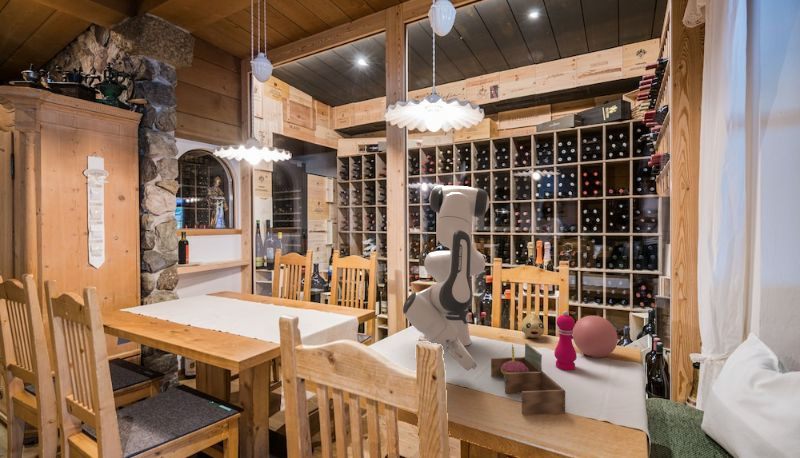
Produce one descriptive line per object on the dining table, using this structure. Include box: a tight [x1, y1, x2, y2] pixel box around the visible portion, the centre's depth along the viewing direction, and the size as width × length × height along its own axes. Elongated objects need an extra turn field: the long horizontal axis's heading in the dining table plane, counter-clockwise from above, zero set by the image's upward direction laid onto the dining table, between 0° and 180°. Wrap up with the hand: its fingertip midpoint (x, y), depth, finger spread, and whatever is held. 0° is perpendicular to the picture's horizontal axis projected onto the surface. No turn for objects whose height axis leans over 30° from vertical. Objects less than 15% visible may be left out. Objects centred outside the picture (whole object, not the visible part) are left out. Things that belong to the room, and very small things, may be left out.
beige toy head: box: [520, 313, 545, 340], centre depth 173 cm, size 10×12×11 cm
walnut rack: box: [490, 343, 566, 416], centre depth 118 cm, size 12×26×11 cm, turn 5°
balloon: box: [572, 315, 619, 358], centre depth 152 cm, size 15×20×15 cm
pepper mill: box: [554, 310, 577, 372], centre depth 138 cm, size 7×7×20 cm
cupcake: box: [501, 344, 529, 378], centre depth 124 cm, size 9×8×12 cm
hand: (474, 366), depth 124 cm, fingers closed
